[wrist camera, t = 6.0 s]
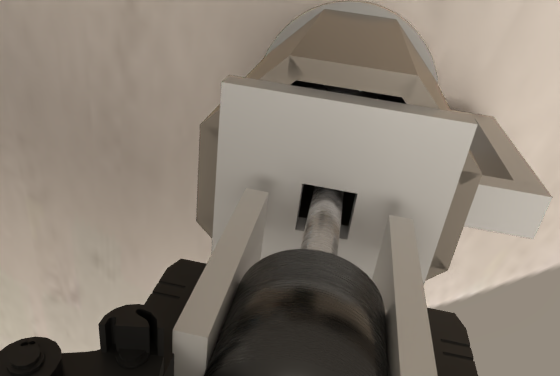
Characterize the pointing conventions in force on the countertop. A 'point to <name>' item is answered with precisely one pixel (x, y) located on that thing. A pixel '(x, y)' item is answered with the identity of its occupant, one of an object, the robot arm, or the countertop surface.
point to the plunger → (306, 303)
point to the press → (360, 144)
